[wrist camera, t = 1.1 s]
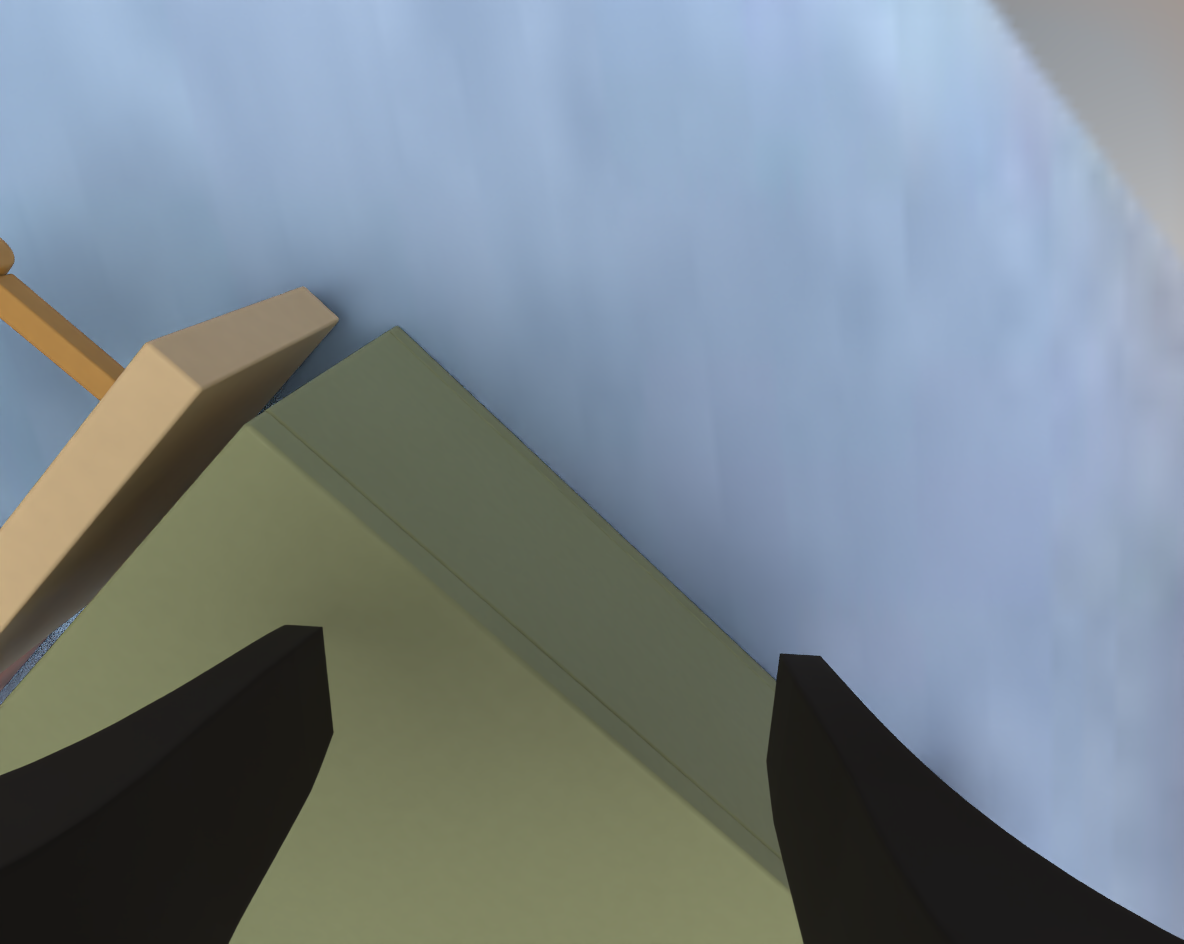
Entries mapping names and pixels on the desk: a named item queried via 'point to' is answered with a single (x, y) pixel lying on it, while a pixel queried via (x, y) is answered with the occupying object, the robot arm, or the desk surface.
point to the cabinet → (447, 682)
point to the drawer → (133, 442)
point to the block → (16, 666)
